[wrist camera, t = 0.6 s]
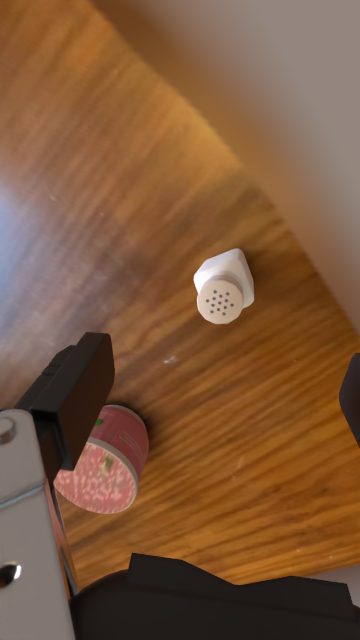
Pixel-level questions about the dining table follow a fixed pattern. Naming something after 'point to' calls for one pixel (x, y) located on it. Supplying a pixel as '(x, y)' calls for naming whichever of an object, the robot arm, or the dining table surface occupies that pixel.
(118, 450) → the container
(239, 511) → the dining table surface
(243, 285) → the salt shaker
